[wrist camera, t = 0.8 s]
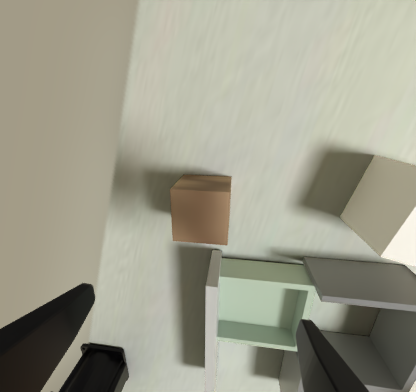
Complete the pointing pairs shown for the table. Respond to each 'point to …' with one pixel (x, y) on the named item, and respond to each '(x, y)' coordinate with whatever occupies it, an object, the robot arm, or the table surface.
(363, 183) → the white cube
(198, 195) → the walnut block
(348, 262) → the console
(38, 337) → the robot arm
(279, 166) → the table surface
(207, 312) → the drink tray
